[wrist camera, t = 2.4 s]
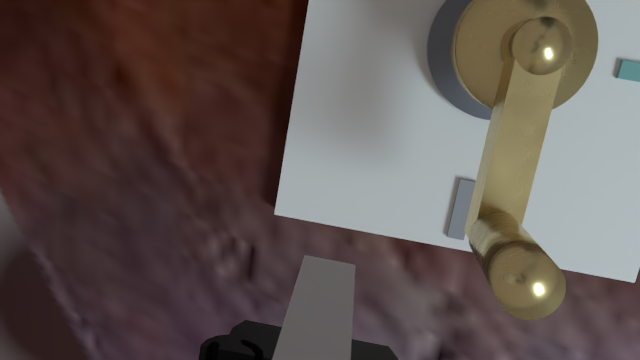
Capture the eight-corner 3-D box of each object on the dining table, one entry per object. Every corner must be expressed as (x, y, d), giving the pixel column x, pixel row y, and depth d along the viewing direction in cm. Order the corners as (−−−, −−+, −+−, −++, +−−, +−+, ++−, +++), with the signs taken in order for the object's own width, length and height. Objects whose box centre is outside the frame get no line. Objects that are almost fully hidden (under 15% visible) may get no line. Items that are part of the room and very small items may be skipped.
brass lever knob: (466, -31, 29) (521, -78, 19) (598, -9, 29) (728, -44, 18) (412, 220, 32) (433, 302, 21) (532, 243, 32) (612, 336, 21)
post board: (345, -209, 33) (340, -255, 28) (753, -144, 32) (823, -180, 27) (277, 209, 38) (263, 232, 33) (626, 275, 37) (665, 309, 32)
